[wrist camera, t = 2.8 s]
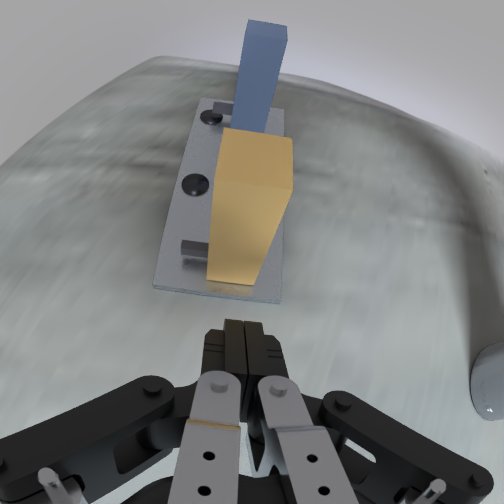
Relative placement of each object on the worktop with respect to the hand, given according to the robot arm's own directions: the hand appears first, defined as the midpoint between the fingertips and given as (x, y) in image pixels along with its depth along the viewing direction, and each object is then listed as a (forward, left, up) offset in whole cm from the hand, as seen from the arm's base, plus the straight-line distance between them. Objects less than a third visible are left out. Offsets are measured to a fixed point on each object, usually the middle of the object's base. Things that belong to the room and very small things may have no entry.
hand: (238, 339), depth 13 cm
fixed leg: (-9, -27, -13) cm, 31 cm away
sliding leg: (-2, -9, -12) cm, 16 cm away
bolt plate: (-6, -19, -14) cm, 24 cm away
